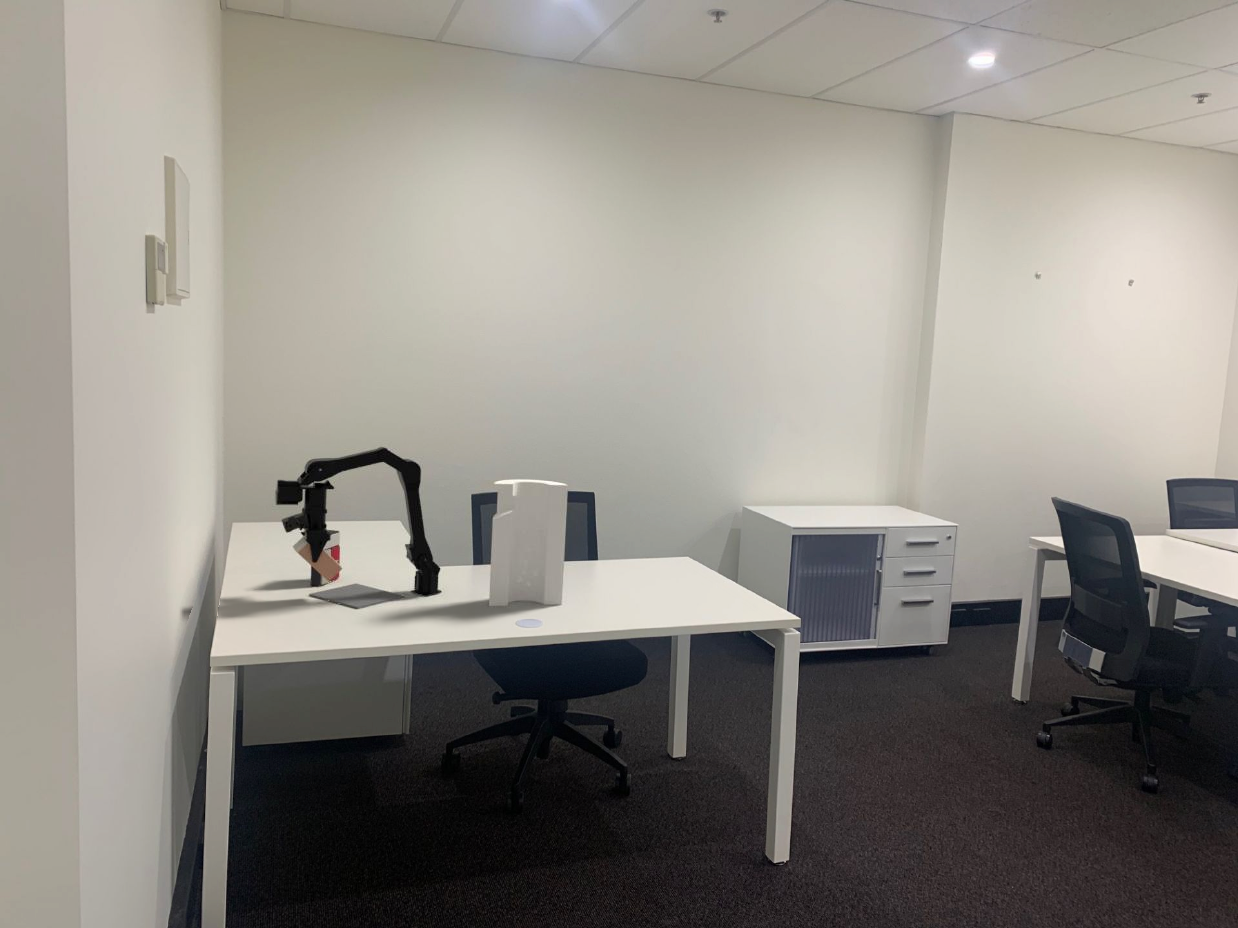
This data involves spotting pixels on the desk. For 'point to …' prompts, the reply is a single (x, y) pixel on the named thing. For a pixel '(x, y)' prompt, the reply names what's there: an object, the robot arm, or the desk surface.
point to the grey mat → (356, 595)
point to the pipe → (528, 542)
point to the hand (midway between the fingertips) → (313, 560)
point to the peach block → (324, 563)
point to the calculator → (334, 552)
